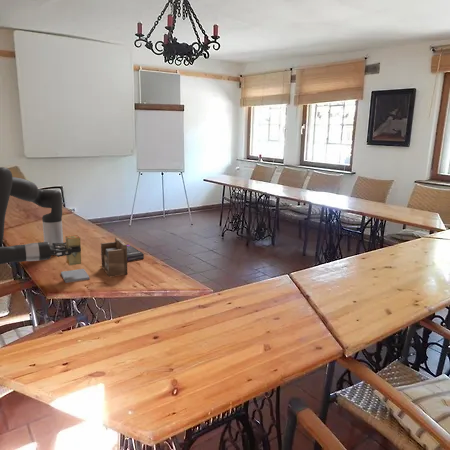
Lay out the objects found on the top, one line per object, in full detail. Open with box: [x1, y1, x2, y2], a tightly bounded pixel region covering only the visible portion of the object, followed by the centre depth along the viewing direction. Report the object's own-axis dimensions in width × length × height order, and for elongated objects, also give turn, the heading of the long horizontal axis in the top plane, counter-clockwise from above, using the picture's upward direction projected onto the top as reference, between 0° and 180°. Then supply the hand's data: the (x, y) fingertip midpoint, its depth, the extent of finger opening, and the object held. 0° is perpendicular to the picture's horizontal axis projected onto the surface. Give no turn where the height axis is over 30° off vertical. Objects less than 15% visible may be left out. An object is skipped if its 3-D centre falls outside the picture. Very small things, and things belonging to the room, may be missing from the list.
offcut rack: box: [100, 237, 128, 278], centre depth 185 cm, size 14×8×14 cm, turn 30°
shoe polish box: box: [65, 234, 82, 267], centre depth 175 cm, size 5×5×12 cm
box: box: [126, 244, 145, 263], centre depth 209 cm, size 14×4×20 cm
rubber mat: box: [60, 268, 91, 284], centre depth 178 cm, size 12×10×1 cm
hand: (79, 247), depth 176 cm, fingers closed on shoe polish box, 5 cm apart
